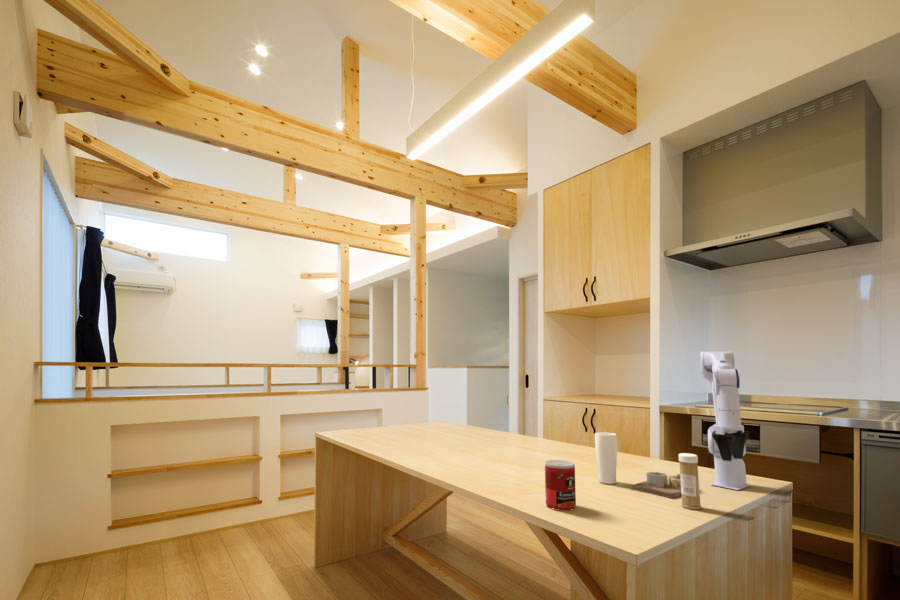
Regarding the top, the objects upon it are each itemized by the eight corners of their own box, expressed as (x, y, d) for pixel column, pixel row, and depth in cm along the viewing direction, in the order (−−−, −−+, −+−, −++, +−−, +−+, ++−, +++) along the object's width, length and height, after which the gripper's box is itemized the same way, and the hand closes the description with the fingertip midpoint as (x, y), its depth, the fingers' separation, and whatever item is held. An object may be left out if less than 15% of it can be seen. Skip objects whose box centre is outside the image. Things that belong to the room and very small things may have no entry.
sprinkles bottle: (704, 508, 120) (701, 454, 122) (695, 511, 117) (691, 456, 119) (687, 503, 124) (684, 452, 125) (677, 506, 121) (674, 453, 123)
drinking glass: (621, 481, 146) (619, 433, 148) (616, 486, 141) (614, 435, 143) (599, 478, 150) (597, 431, 152) (593, 483, 144) (592, 434, 146)
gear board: (659, 481, 148) (658, 467, 148) (698, 489, 138) (697, 474, 139) (632, 489, 138) (631, 474, 138) (672, 498, 128) (671, 482, 129)
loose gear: (653, 482, 142) (652, 471, 142) (670, 485, 138) (669, 474, 138) (644, 484, 138) (643, 473, 139) (661, 488, 134) (660, 477, 135)
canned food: (559, 512, 115) (558, 467, 117) (539, 504, 122) (538, 461, 124) (582, 508, 119) (581, 464, 120) (561, 500, 126) (560, 458, 127)
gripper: (724, 409, 141) (727, 455, 139) (702, 410, 132) (706, 459, 130) (750, 410, 135) (754, 458, 133) (729, 411, 127) (733, 463, 124)
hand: (732, 459), depth 131 cm, fingers open, 7 cm apart
